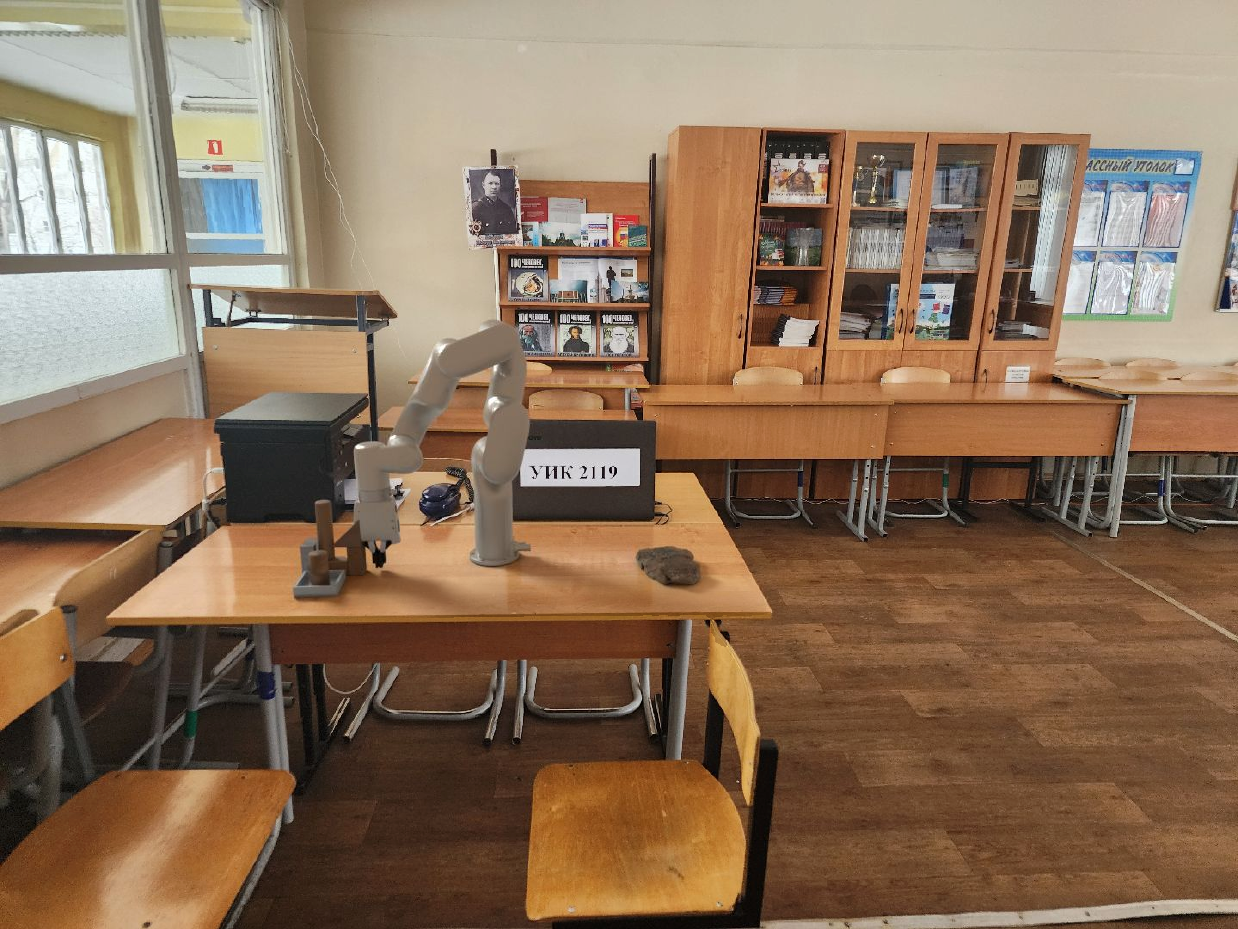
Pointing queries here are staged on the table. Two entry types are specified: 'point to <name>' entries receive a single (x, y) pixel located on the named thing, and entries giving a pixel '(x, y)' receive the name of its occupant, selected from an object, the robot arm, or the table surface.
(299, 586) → the tray
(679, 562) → the grey rock
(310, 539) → the rectangular block
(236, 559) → the table surface
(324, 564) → the dowel
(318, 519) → the wooden blocks
